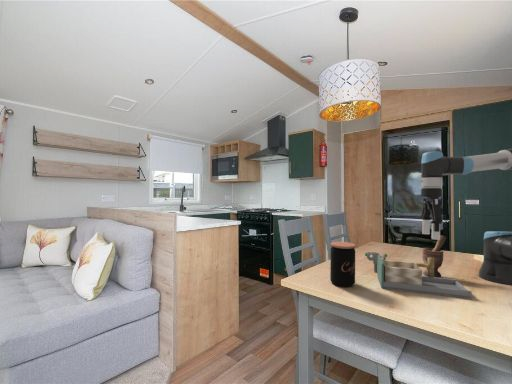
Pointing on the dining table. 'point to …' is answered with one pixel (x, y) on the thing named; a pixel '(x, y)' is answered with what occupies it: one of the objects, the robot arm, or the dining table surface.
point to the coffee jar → (342, 264)
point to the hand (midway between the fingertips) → (430, 236)
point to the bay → (426, 285)
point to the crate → (406, 271)
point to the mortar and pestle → (434, 256)
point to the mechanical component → (375, 258)
